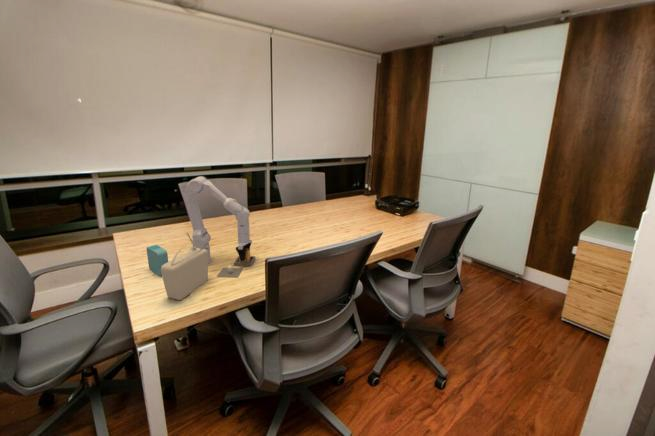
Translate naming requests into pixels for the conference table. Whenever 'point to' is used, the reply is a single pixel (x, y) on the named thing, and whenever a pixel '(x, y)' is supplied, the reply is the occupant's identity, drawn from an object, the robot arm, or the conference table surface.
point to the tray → (243, 262)
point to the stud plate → (233, 275)
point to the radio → (185, 272)
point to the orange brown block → (246, 257)
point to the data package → (156, 258)
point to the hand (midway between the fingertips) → (244, 257)
